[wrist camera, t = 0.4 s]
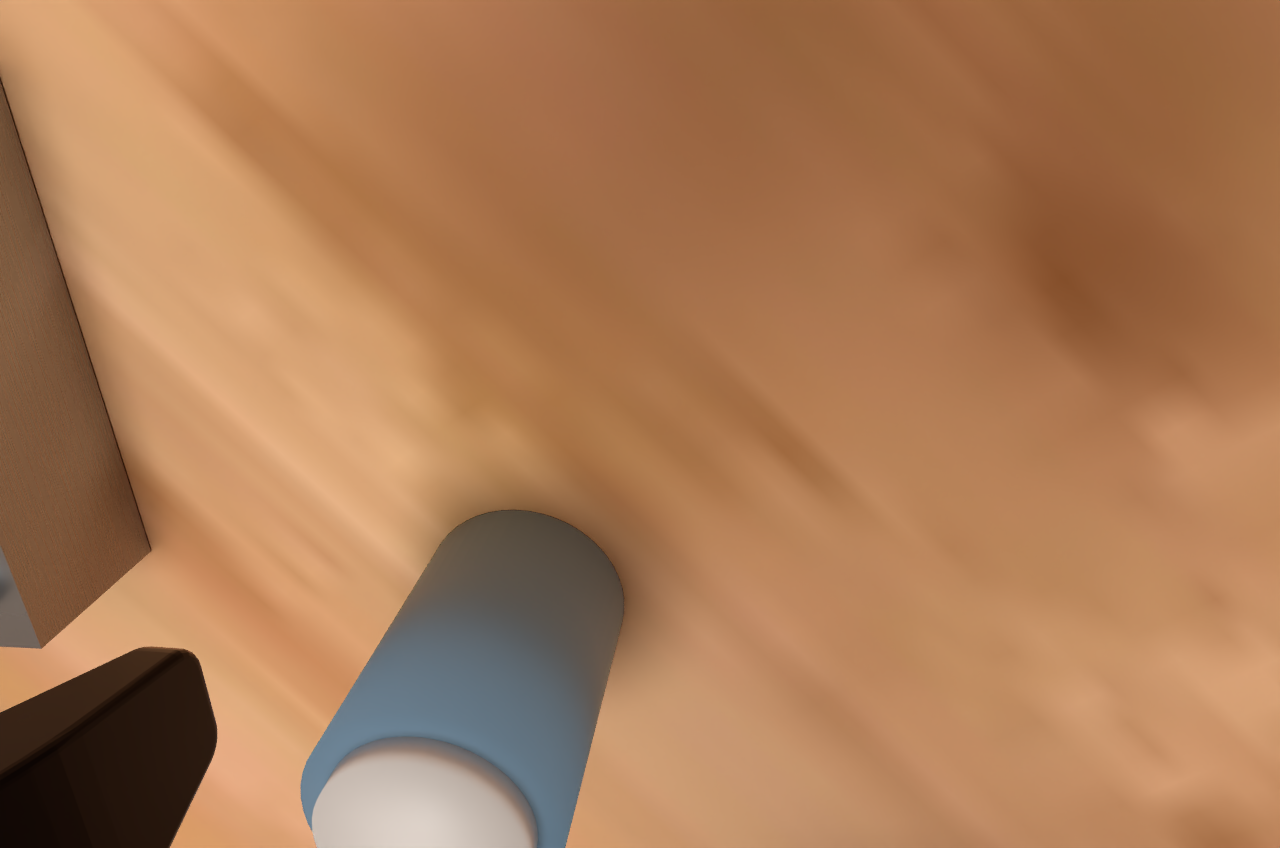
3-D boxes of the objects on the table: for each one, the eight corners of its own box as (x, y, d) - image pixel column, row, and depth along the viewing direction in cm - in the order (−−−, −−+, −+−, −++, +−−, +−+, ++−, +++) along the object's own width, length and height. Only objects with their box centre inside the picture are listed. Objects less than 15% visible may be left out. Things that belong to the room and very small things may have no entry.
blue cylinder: (629, 680, 24) (569, 954, 17) (444, 670, 25) (315, 930, 18) (617, 512, 22) (543, 749, 15) (415, 507, 23) (257, 730, 16)
